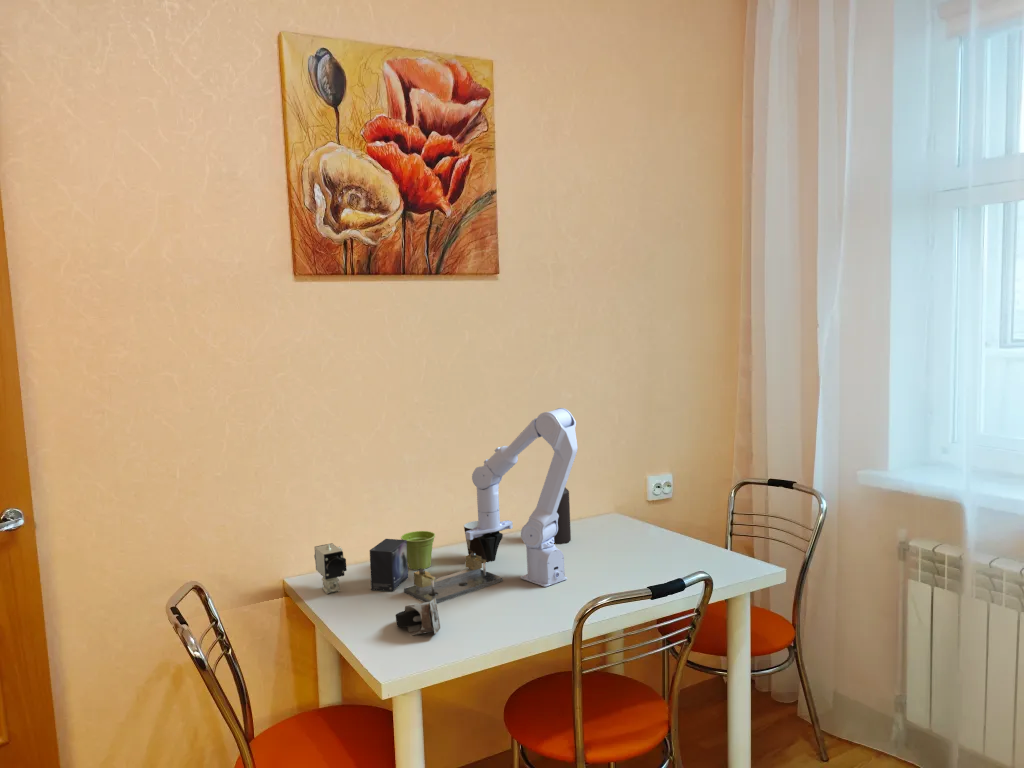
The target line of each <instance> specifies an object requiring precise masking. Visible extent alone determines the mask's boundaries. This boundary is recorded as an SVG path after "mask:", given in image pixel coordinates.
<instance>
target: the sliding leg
mask: <svg viewBox="0 0 1024 768" xmlns="http://www.w3.org/2000/svg"><path fill="white" fill-rule="evenodd" d="M464 558H465V559H464V561H465V569H472V570H477V569H482V570H483V572H484V576H486V572H487V570H486V569H487V568H486V567H487V566H486V564H487V563H486V560H485V559H482V557H481V556H478V555H476V553H474V552H473V553H471V554H470V555H469V554H468V555H465V556H464ZM482 562H483V563H482Z"/></svg>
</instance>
